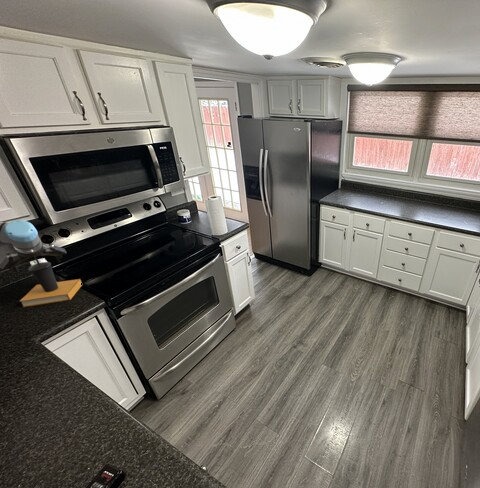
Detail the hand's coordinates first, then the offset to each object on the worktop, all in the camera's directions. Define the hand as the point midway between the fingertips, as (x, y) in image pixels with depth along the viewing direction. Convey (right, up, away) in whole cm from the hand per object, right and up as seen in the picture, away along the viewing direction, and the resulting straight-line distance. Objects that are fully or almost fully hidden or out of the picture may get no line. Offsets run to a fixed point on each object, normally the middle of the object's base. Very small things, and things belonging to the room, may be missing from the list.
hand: (38, 265), depth 121 cm
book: (-5, -16, +12) cm, 21 cm away
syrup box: (-16, -12, +20) cm, 29 cm away
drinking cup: (-5, -13, +11) cm, 18 cm away
